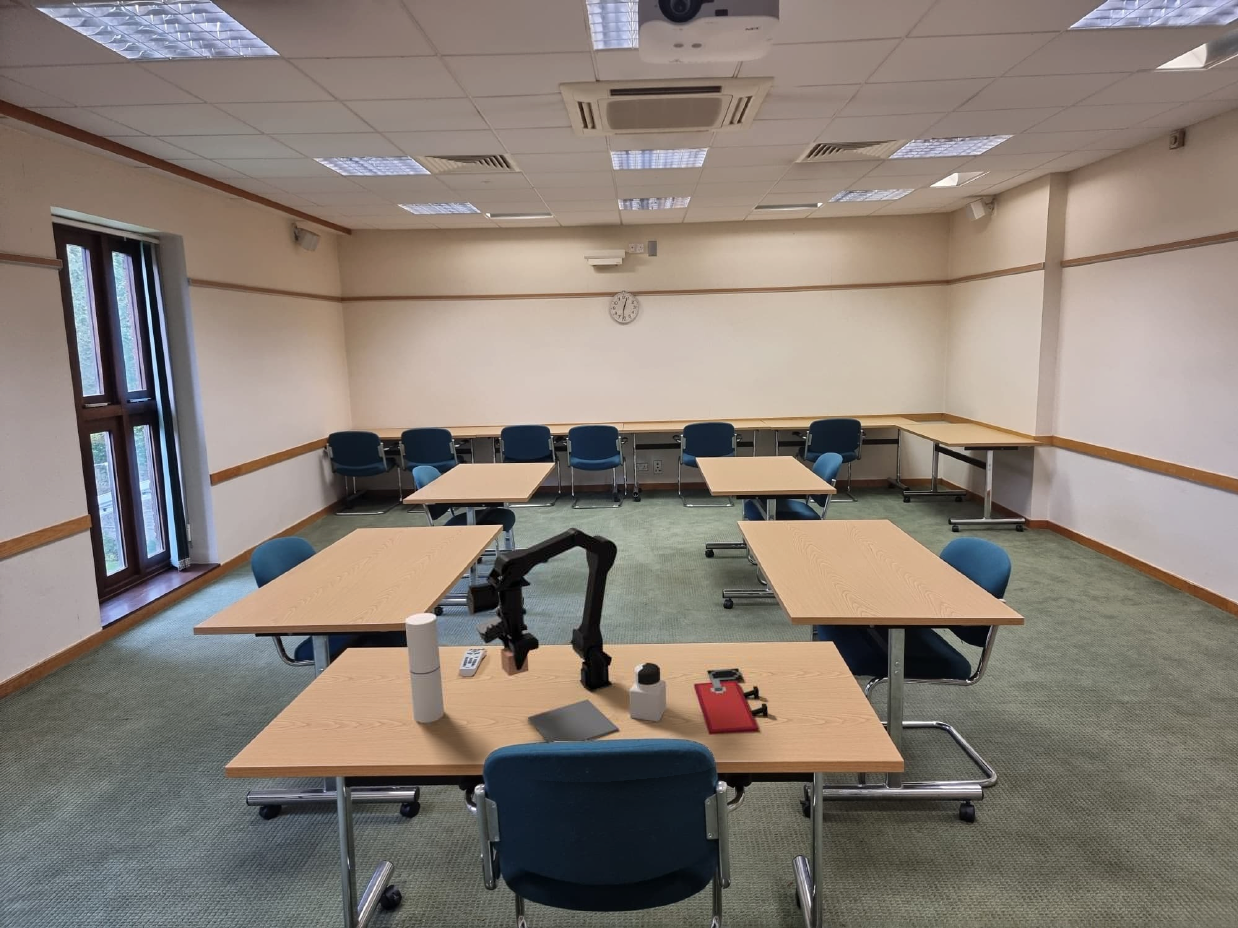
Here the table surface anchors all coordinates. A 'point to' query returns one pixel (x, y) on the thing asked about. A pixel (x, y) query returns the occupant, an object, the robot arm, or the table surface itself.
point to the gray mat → (573, 723)
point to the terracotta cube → (511, 663)
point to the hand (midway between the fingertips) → (515, 665)
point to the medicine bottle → (647, 693)
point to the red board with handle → (727, 703)
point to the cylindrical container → (424, 667)
